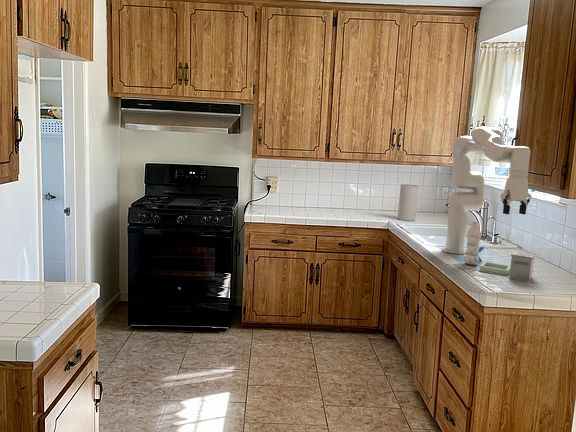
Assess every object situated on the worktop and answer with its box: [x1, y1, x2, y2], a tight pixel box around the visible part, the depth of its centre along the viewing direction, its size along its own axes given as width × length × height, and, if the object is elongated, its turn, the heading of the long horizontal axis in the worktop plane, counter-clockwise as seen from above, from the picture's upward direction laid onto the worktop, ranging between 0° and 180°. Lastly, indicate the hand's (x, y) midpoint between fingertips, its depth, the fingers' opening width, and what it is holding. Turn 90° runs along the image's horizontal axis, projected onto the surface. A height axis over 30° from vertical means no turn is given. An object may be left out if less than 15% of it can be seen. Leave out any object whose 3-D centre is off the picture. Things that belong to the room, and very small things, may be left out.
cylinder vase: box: [397, 183, 420, 222], centre depth 399 cm, size 12×12×25 cm
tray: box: [479, 261, 511, 276], centre depth 253 cm, size 12×12×2 cm
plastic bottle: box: [463, 221, 482, 266], centre depth 262 cm, size 6×7×20 cm
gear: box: [478, 246, 485, 263], centre depth 272 cm, size 11×6×10 cm
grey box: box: [508, 250, 537, 283], centre depth 242 cm, size 11×9×11 cm
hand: (514, 214), depth 245 cm, fingers open, 9 cm apart
